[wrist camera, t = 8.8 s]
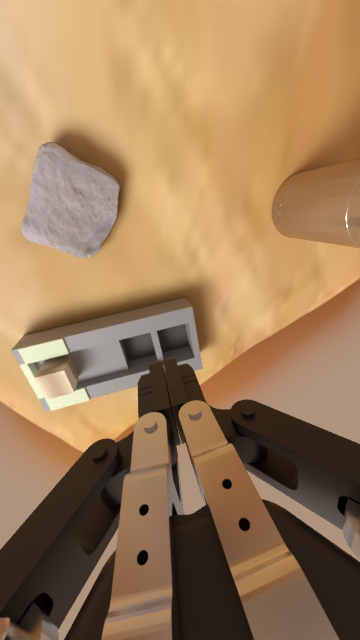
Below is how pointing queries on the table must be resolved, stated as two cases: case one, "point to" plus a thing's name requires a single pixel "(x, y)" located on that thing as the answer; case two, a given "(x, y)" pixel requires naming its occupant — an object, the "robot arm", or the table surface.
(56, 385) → the cube
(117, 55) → the table surface
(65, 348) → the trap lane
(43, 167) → the stone block
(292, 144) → the table surface
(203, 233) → the table surface
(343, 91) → the table surface
